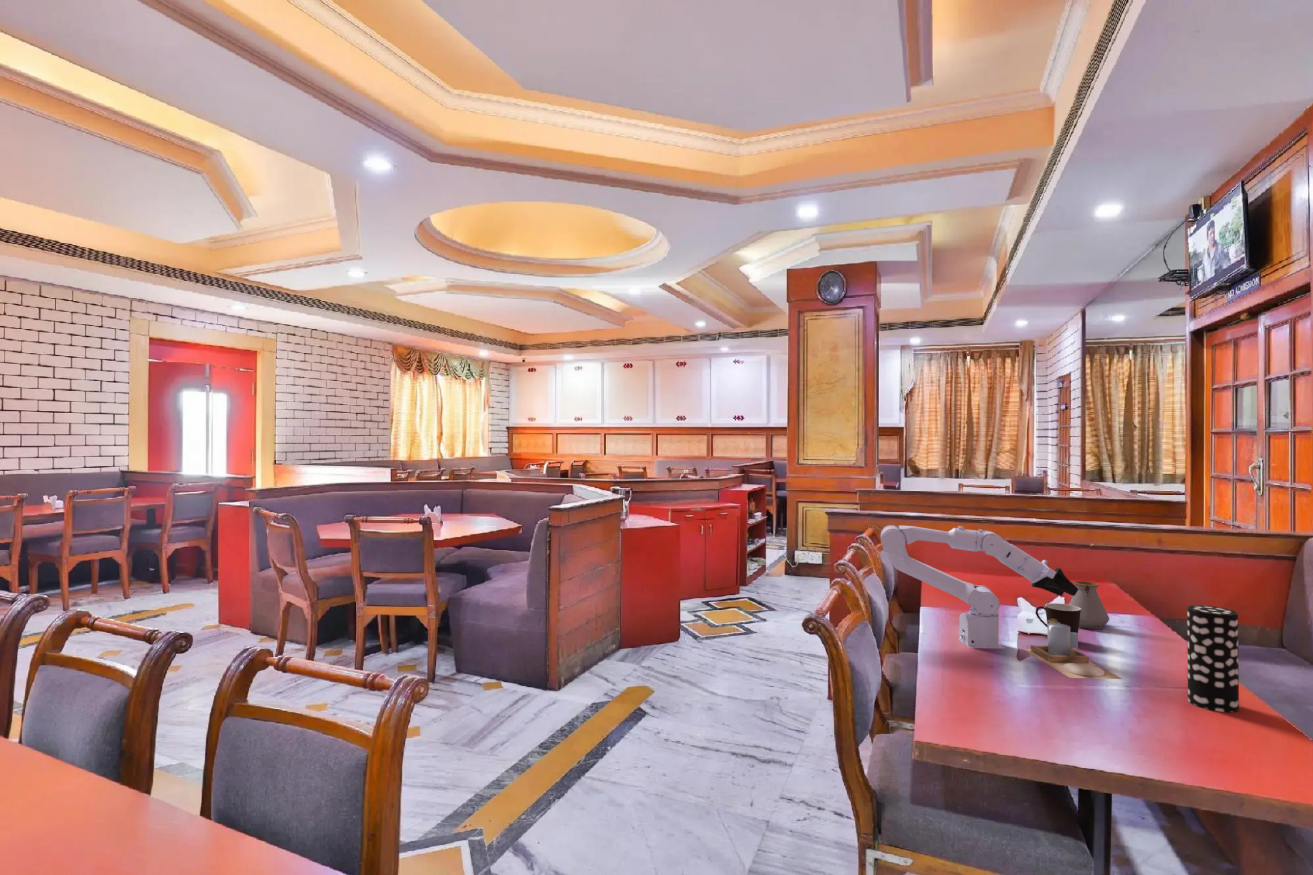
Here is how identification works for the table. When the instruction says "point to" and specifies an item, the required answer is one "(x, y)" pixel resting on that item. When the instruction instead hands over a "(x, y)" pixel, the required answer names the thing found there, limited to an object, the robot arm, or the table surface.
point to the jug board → (1071, 663)
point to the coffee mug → (1062, 615)
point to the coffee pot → (1089, 605)
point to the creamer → (1061, 639)
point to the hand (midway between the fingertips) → (1069, 592)
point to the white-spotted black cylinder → (1213, 658)
